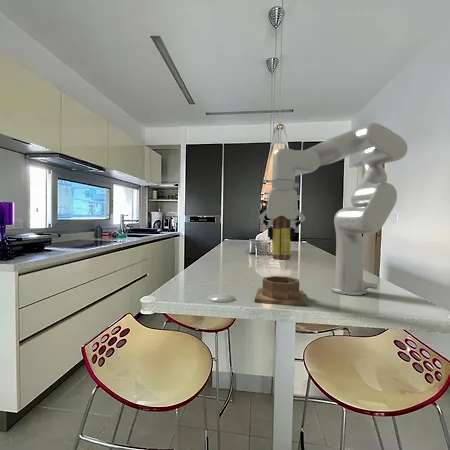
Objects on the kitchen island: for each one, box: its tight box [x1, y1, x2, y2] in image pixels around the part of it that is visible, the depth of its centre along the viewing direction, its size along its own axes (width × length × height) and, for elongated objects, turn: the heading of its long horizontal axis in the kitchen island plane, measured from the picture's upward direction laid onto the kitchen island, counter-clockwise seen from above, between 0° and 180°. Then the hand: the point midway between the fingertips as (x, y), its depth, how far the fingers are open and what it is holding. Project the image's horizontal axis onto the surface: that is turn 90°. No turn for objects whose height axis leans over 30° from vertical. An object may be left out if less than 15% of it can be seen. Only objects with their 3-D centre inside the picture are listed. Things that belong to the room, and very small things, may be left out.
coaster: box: [207, 293, 236, 304], centre depth 94 cm, size 9×9×1 cm
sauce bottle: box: [271, 216, 292, 261], centre depth 96 cm, size 7×6×20 cm
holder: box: [254, 275, 308, 307], centre depth 97 cm, size 16×16×6 cm
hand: (280, 239), depth 96 cm, fingers closed on sauce bottle, 6 cm apart
